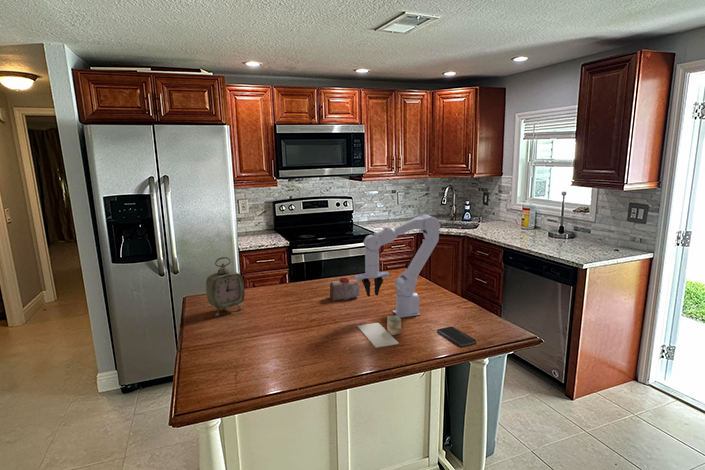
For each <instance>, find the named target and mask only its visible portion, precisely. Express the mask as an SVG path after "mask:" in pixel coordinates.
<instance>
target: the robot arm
mask: <svg viewBox="0 0 705 470" xmlns="http://www.w3.org/2000/svg"><path fill="white" fill-rule="evenodd" d="M439 221H440V220H439V219H438V218H437V217H435V216H431V215H429V214H426V213H425V214H424V213H423V214H421V215H418V216H415V217H413V218H412V219H409V220H408V221H406V222H404V223H402V224H400V225H398V226H396V227H394V228H393V227H387V226H385V227H384V228H383V230H380V231H378V232H376V231H375V232H373V234H369V235H366V236H365V238H364V240H363V246H364V248H365V253H364V254H365V255H364V260H365V261H364V264H365V267H364V268H365V271H364V272H365V273H360V274H357V275H354V279H355V280H356V281H357V282H358V281H361V283H362V284H363V286H364V290H365V292H366V296H367V297H371V281H370V280H372V279H373V282H374V295H375V296H379V294H380V293H379V292H380V289H381V286H382V284H383V283H384V278H387V279H388V278H390V273H389V272H388V271H380V252H379V251H380V248H381V247H382V246H384V245H387V244H389V243H391V242H393V241H395V240H396V239H397V237H398V236H400V235H402V234H405V233H408V232H410V231H413V230H421V231H422V234H423V237H424V239H423V242H422V243H421V245H420V247H418V250H417V251H416V253H415V255H414V257H413V258H412V260H411V262H410V263H409V264H408V267H407V268H406V270H404V271H403V272H402V273H401V274H400V275H399V276H397V278H395V280H394V286H395V288H396V293H395V305H396V306H395V309H393V310H392V312H393V313H394V315H397V316H398V317H399V318H408V317H415V316H420V297H419V294H418V293H417V292H415V291H416V285H417V284H418V276H419V274H421V271H422V269H423V268H424V266H425V265H426V263H427V261H428V259H429V257H430V256H431V255H432V252H433V251H434V250H435V247H436V246H437V244H438V242H439V240H440V229H441V227H442V226H441V224H440V222H439Z"/></svg>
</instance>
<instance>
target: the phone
mask: <svg viewBox="0 0 705 470" xmlns="http://www.w3.org/2000/svg"><path fill="white" fill-rule="evenodd" d="M436 332H437V334H439V335H440V336H442V337H444V338H445V339H447V340H448V341H449V342H451V343H452V344H454V345H456V346H457V347H459V348H465V347H469V346H472V345H476V344H477V341H478V340H477V339H474V338H473V337H471V336H470V335H468V334H466V333H465V332H464V331H461V330H459V328H456V327H454V326H448V327H447V326H446V327H443V328H437V329H436Z"/></svg>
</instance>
